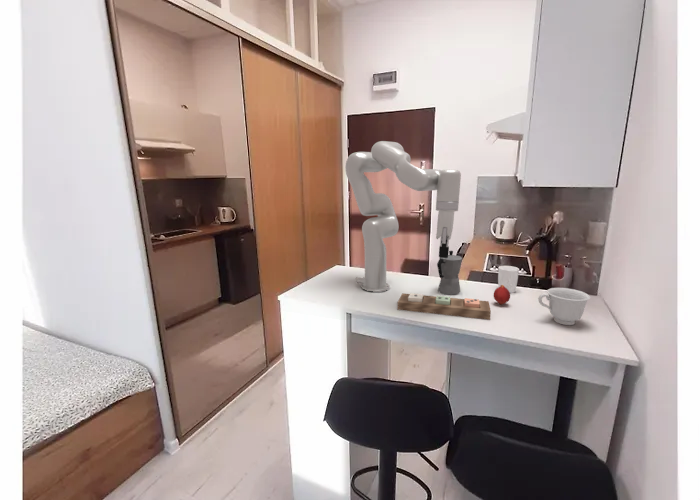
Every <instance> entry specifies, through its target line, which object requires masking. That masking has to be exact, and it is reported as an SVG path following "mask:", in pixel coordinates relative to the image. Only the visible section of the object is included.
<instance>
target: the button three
mask: <svg viewBox="0 0 700 500" xmlns="http://www.w3.org/2000/svg"><path fill="white" fill-rule="evenodd" d="M463 299H464V307H473V308H479V307H480V303H479V300H480V299H477V298H466V297H465V298H463Z"/></svg>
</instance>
